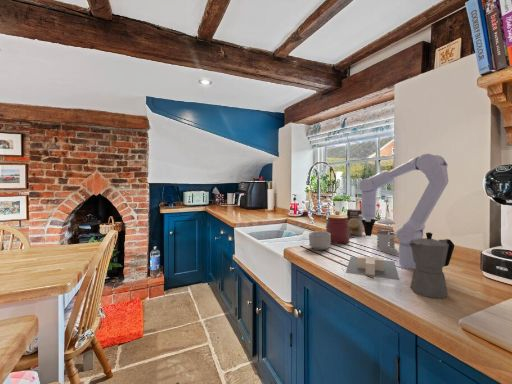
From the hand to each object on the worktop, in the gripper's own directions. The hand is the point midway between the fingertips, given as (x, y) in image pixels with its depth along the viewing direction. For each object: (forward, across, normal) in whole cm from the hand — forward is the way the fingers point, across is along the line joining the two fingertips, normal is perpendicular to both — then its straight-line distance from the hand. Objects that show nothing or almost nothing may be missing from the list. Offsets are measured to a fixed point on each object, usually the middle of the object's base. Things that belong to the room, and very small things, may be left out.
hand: (368, 235), depth 111 cm
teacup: (+10, -6, -23) cm, 26 cm away
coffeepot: (+10, +32, +18) cm, 38 cm away
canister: (+10, -26, -17) cm, 32 cm away
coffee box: (+10, -50, -9) cm, 52 cm away
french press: (+10, -17, +8) cm, 21 cm away
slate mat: (+9, +16, +2) cm, 19 cm away
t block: (+9, +21, +1) cm, 23 cm away
